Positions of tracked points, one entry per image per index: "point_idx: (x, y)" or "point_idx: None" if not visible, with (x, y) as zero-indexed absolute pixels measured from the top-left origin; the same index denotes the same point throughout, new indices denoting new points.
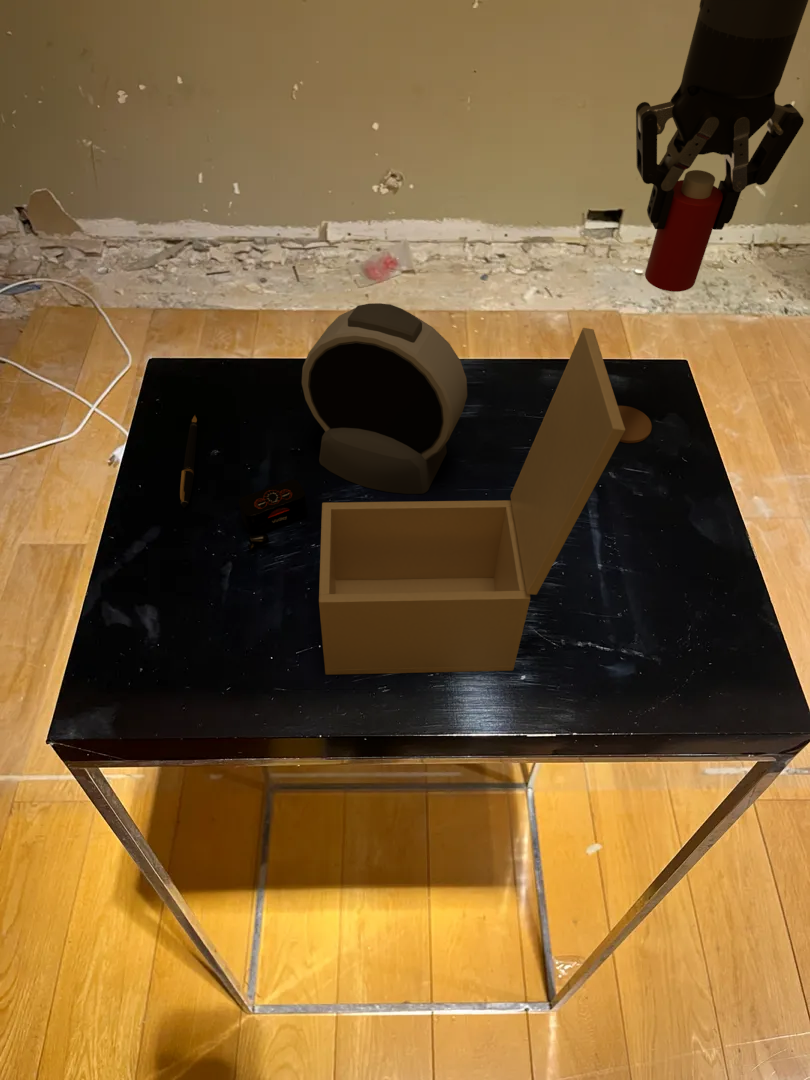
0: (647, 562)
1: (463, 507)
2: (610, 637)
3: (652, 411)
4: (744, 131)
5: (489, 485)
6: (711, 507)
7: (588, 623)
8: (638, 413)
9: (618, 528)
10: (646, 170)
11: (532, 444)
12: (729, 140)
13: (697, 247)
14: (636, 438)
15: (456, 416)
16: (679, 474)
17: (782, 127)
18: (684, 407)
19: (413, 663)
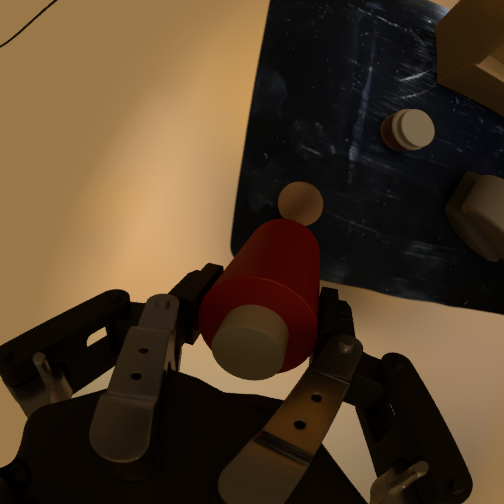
0: (334, 63)
1: (501, 76)
2: (376, 22)
3: (270, 216)
4: (114, 408)
5: (427, 163)
6: (264, 103)
7: (388, 34)
8: (284, 213)
9: (346, 95)
10: (411, 378)
11: (499, 45)
12: (169, 406)
13: (263, 241)
14: (298, 183)
15: (486, 183)
16: (276, 140)
17: (36, 369)
18: (241, 215)
19: None
